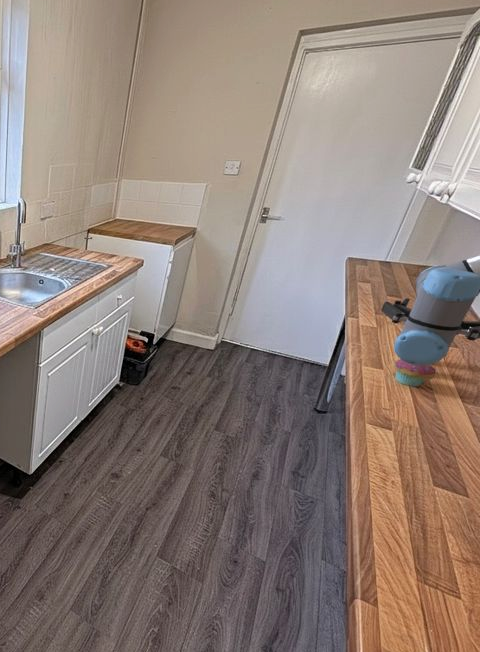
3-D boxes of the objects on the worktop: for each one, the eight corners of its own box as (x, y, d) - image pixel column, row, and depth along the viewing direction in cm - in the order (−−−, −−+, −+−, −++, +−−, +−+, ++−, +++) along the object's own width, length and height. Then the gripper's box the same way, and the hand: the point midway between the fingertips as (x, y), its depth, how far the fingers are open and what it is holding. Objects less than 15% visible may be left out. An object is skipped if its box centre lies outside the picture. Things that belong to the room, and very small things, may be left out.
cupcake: (390, 384, 120) (408, 347, 115) (385, 372, 126) (401, 336, 121) (432, 393, 115) (452, 355, 110) (424, 380, 122) (443, 344, 117)
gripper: (352, 329, 104) (372, 310, 116) (506, 367, 86) (511, 340, 98) (364, 301, 101) (382, 284, 113) (526, 334, 83) (528, 311, 95)
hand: (442, 310), depth 105 cm, fingers open, 13 cm apart
